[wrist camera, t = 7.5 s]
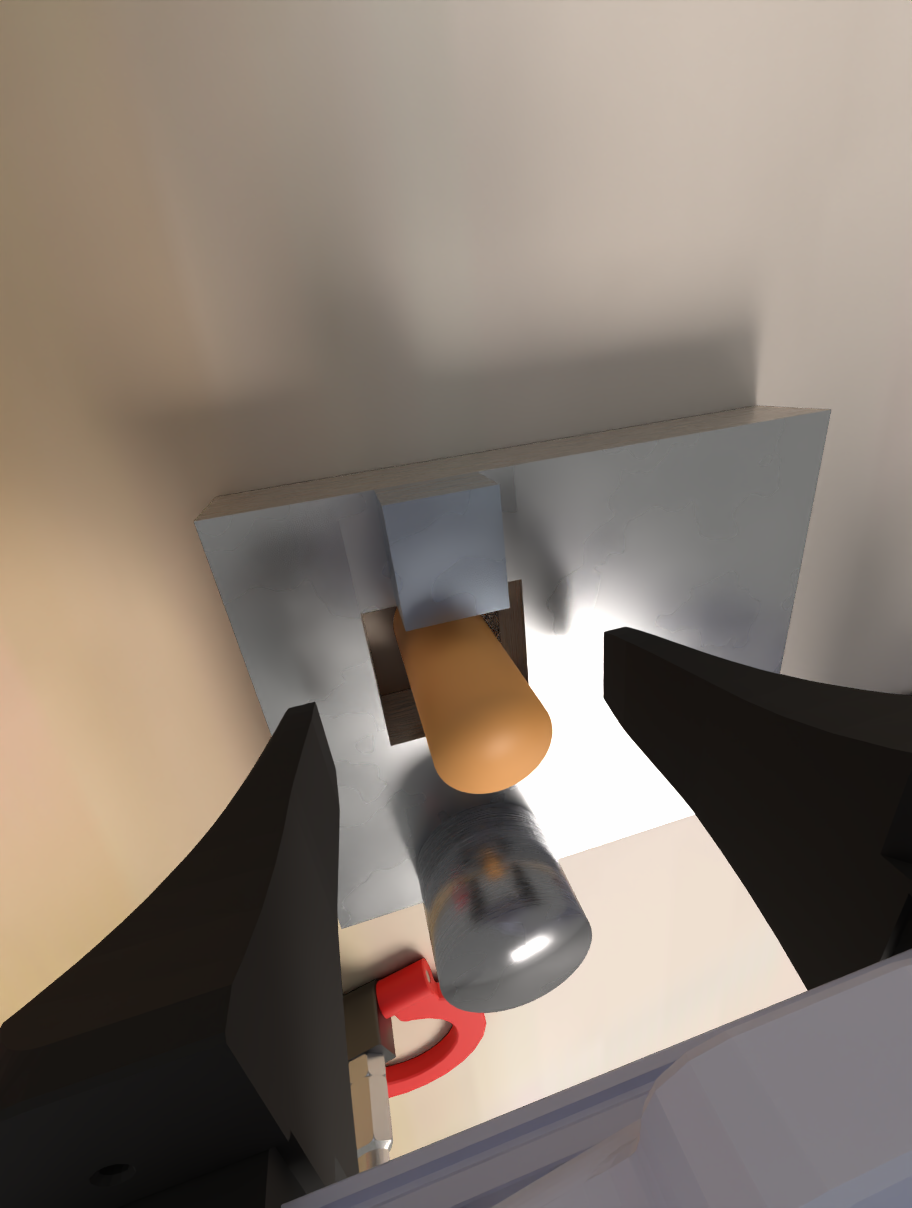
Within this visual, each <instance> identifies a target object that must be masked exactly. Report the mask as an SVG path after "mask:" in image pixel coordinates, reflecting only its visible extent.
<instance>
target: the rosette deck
mask: <svg viewBox="0 0 912 1208" xmlns="http://www.w3.org/2000/svg"><path fill="white" fill-rule="evenodd" d="M830 414H831V409H812V408H793V407H774V406H752V407H746V408H740V409H734V410H728V411H722V412H716V413H710V414H704V415H698V416H692V417H686V418H681V419H675V420H669V421H663V422H657V423H651V424H645V425H639V426H633V427H627V428H621V429H615V430H609V431H603V432H598V433H592V434H586V435H580V436H574V437H568V438H562V439H556V440H550V441H544V442H538V443H532V444H526V445H520V446H515V447H509V448H503V449H497V450H491V451H485V452H479V453H473V454H467V455H461V456H455V457H449V458H443V459H437V460H432V461H426V462H420V463H414V464H408V465H402V466H396V467H390V468H384V469H378V470H372V471H366V472H360V473H354V474H348V475H343V476H337V477H331V478H325V479H319V480H313V481H307V482H301V483H295V484H289V485H283V486H277V487H271V488H265V489H260V490H254V491H248V492H242V493H236V494H230V495H224V496H218V497H215V498H214V499H213V501H212V502H211V503H210V504H209V505H208V506H207V507H206V508H205V509H204V511H203V512H202V513H201V514H200V515H199V516H198V517H197V518H196V519H195V520H194V524H195V526H196V529H197V532H198V535H199V537H200V540H201V543H202V546H203V548H204V551H205V554H206V557H207V559H208V562H209V565H210V568H211V570H212V573H213V576H214V579H215V581H216V584H217V587H218V590H219V592H220V595H221V598H222V601H223V603H224V606H225V609H226V612H227V614H228V617H229V620H230V623H231V625H232V628H233V631H234V634H235V636H236V639H237V642H238V645H239V647H240V650H241V653H242V656H243V658H244V661H245V664H246V667H247V669H248V672H249V675H250V678H251V680H252V683H253V686H254V689H255V691H256V694H257V697H258V700H259V702H260V705H261V708H262V711H263V713H264V716H265V719H266V722H267V724H268V727H269V730H270V733H271V736H272V735H273V733H274V732H275V730H276V728H277V726H278V724H279V723H280V721H281V719H282V717H283V716H284V714H285V712H286V711H287V709H288V708H291V707H295V706H299V705H303V704H307V703H312V702H316V705H317V708H318V711H319V715H320V718H321V721H322V725H323V728H324V731H325V735H326V738H327V741H328V744H329V748H330V751H331V754H332V758H333V761H334V764H335V768H336V775H337V784H338V794H339V805H340V828H339V868H338V920H339V923H340V925H341V928H342V929H343V928H346V927H349V926H352V925H355V924H359V923H362V922H365V921H368V920H371V919H374V918H377V917H380V916H383V915H386V914H389V913H392V912H395V911H399V910H402V909H405V908H408V907H411V906H414V905H417V904H420V903H423V905H424V910H425V915H426V920H427V925H428V930H429V935H430V940H431V945H432V950H433V955H434V960H435V965H436V970H437V975H438V980H439V985H440V990H441V992H442V995H443V996H444V998H445V999H446V1001H448V1002H449V1003H450V1004H451V1005H453V1006H454V1007H456V1008H458V1009H461V1010H464V1011H468V1012H475V1013H490V1012H498V1011H504V1010H508V1009H512V1008H515V1007H518V1006H521V1005H524V1004H527V1003H529V1002H531V1001H534V1000H536V999H538V998H540V997H542V996H543V995H545V994H547V993H548V992H550V991H552V990H553V989H555V988H556V987H557V986H559V985H560V984H561V983H563V982H564V981H565V980H566V979H567V978H568V977H569V976H570V975H572V973H573V972H574V971H575V970H576V969H577V968H578V967H579V965H580V964H581V963H582V961H583V960H584V958H585V956H586V955H587V953H588V950H589V948H590V944H591V939H592V931H591V927H590V924H589V922H588V920H587V918H586V916H585V914H584V912H583V910H582V908H581V906H580V904H579V902H578V900H577V898H576V896H575V894H574V892H573V890H572V888H571V886H570V884H569V882H568V880H567V878H566V876H565V874H564V872H563V870H562V868H561V866H560V864H559V862H558V860H557V859H559V858H562V857H565V856H568V855H571V854H574V853H577V852H580V851H583V850H586V849H589V848H592V847H596V846H599V845H602V844H605V843H608V842H611V841H614V840H617V839H620V838H623V837H626V836H629V835H633V834H636V833H639V832H642V831H645V830H648V829H651V828H654V827H657V826H660V825H663V824H666V823H669V822H673V821H676V820H679V819H682V818H685V817H688V816H691V815H694V814H695V813H694V812H693V811H692V810H691V808H690V807H689V806H688V805H687V803H686V802H685V801H684V800H683V798H682V797H681V796H680V795H679V794H678V792H677V791H676V790H675V789H674V788H673V787H672V786H671V784H670V783H669V782H668V781H667V780H666V779H665V778H664V776H663V775H662V774H661V773H660V772H659V771H658V769H657V768H656V767H655V766H654V765H653V764H652V763H651V761H650V760H649V759H648V758H647V757H646V756H645V755H644V753H643V752H642V751H641V750H640V749H639V748H638V746H637V745H636V744H635V743H634V742H633V740H632V739H631V738H630V737H629V736H628V735H627V733H626V732H625V731H624V730H623V728H622V727H621V725H620V724H619V722H618V721H617V719H616V718H615V716H614V715H613V713H612V712H611V710H610V708H609V707H608V705H607V703H606V702H605V700H604V699H603V645H604V632H605V631H609V630H613V629H617V628H621V627H625V626H626V627H630V628H634V629H637V630H641V631H644V632H647V633H650V634H653V635H656V636H659V637H662V638H665V639H667V640H670V641H673V642H676V643H679V644H682V645H685V646H688V647H690V648H693V649H696V650H699V651H702V652H705V653H708V654H711V655H714V656H717V657H721V658H724V659H727V660H730V661H734V662H737V663H740V664H744V665H747V666H751V667H754V668H758V669H761V670H765V671H769V672H773V673H777V674H780V669H781V664H782V659H783V654H784V649H785V644H786V639H787V633H788V628H789V623H790V618H791V613H792V608H793V603H794V598H795V593H796V587H797V582H798V577H799V572H800V567H801V562H802V557H803V552H804V547H805V541H806V536H807V531H808V526H809V521H810V516H811V511H812V506H813V501H814V496H815V490H816V485H817V480H818V475H819V470H820V465H821V460H822V455H823V450H824V444H825V439H826V434H827V429H828V424H829V419H830ZM395 606H397V608H398V610H399V613H400V616H401V619H402V622H403V625H404V628H405V631H410V630H415V629H419V628H423V627H428V626H432V625H437V624H441V623H445V622H450V621H454V620H459V619H463V618H467V617H472V616H476V615H481V614H485V613H489V612H494V611H498V619H499V630H500V641H501V645H502V646H503V648H504V649H505V651H506V652H507V654H508V655H509V656H510V658H511V659H512V661H513V662H514V664H515V665H516V667H517V668H518V669H519V671H520V672H521V674H522V675H523V677H524V678H525V680H526V681H527V682H528V684H529V685H530V687H531V688H532V690H533V691H534V693H535V694H536V695H537V697H538V698H539V700H540V701H541V703H542V704H543V706H544V707H545V708H546V710H547V711H548V713H549V715H550V717H551V721H552V726H553V736H552V741H551V745H550V748H549V750H548V752H547V754H546V756H545V758H544V759H543V761H542V762H541V763H540V765H539V766H538V767H537V768H536V769H535V770H534V771H533V772H532V773H531V774H530V775H529V776H527V777H526V778H525V779H523V780H522V781H520V782H519V783H517V784H515V785H513V786H511V787H509V788H506V789H504V790H501V791H497V792H493V793H486V794H472V793H466V792H462V791H459V790H456V789H454V788H452V787H451V786H449V785H448V784H446V783H445V782H444V781H443V780H442V779H441V778H440V776H439V775H438V773H437V771H436V769H435V766H434V763H433V760H432V756H431V753H430V750H429V746H428V743H427V740H426V736H425V733H424V730H423V726H422V723H421V720H420V716H419V713H418V710H417V706H416V703H415V700H414V696H413V693H412V690H411V689H408V690H404V691H400V692H396V693H392V694H388V695H384V696H381V694H380V690H379V685H378V681H377V677H376V672H375V668H374V664H373V659H372V655H371V650H370V646H369V642H368V637H367V633H366V629H365V624H364V620H363V616H362V614H363V613H367V612H372V611H377V610H381V609H386V608H390V607H395Z"/></svg>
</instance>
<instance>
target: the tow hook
mask: <svg viewBox="0 0 912 1208" xmlns="http://www.w3.org/2000/svg"><path fill="white" fill-rule="evenodd" d="M343 1005H344V1018H345V1030H346V1042H347V1053H348V1064H349V1075H350V1085H351V1096H352V1107H353V1116H354V1126H355V1136H356V1146H357V1156H358V1165H359V1173H361V1172H363V1171H366V1170H368V1169H371V1168H373V1167H375V1166H378V1165H380V1164H383V1163H385V1162H388V1161H390V1157H389V1152H390V1150H391V1148H392V1143H393V1135H392V1125H391V1116H390V1106H389V1098H390V1097H393V1096H397V1095H400V1094H404V1093H407V1092H409V1091H412V1090H414V1089H417V1088H419V1087H421V1086H424V1085H426V1084H428V1083H430V1082H432V1081H434V1080H436V1079H437V1078H439V1077H441V1076H443V1075H445V1074H446V1073H448V1072H449V1071H450V1070H452V1069H453V1068H455V1067H456V1066H457V1065H459V1064H460V1063H461V1062H463V1061H464V1060H465V1059H466V1058H467V1057H468V1056H469V1055H470V1054H471V1053H472V1052H473V1051H474V1050H475V1048H476V1046H477V1045H478V1043H479V1042H480V1040H481V1039H482V1037H483V1035H484V1031H485V1027H486V1020H485V1016H484V1013H475V1012H468V1011H464V1010H461V1009H458V1008H456V1007H454V1006H453V1005H451V1004H450V1003H449V1002H448V1001H446V999H445V998H444V996H443V995H442V992H441V990H440V985H439V982H435V981H434V979H433V975H432V972H431V969H430V967H429V965H428V963H427V961H426V960H425V959H424V958H422V959H420V960H418V961H416V962H415V963H413V964H411V965H409V966H407V967H405V968H403V969H401V970H399V971H397V972H395V973H393V974H391V975H389V976H387V977H385V978H383V979H381V980H373V981H371V982H369V983H367V984H365V985H364V986H362V987H360V988H358V989H356V990H354V991H352V992H350V993H348V994H346V995H344V996H343ZM394 1015H395V1016H396V1017H397V1018H398V1019H399V1020H401V1021H410V1020H416V1019H425V1018H434V1019H443V1020H446V1021H449V1022H450V1023H451V1024H452V1025H453V1026H452V1028H451V1030H450V1031H449V1033H448V1034H447V1035H446V1036H445V1037H444V1038H443V1039H442V1040H441V1041H440V1042H439V1043H438V1044H436V1045H435V1046H434V1047H432V1048H431V1049H430V1050H428V1051H426V1052H425V1053H423V1054H421V1055H419V1056H417V1057H415V1058H413V1059H410V1060H408V1061H405V1062H403V1063H399V1064H395V1065H391V1066H387V1067H385V1063H386V1062H388V1061H390V1060H392V1059H394V1058H395V1057H396V1055H395V1047H394V1039H393V1030H392V1022H391V1017H392V1016H394Z"/></svg>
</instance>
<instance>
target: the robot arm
mask: <svg viewBox="0 0 912 1208" xmlns="http://www.w3.org/2000/svg"><path fill="white" fill-rule="evenodd" d="M603 699H604V700H605V702H606V703H607V705H608V707H609V708H610V710H611V712H612V713H613V715H614V716H615V718H616V719H617V721H618V722H619V724H620V725H621V727H622V728H623V730H624V731H625V732H626V733H627V735H628V736H629V737H630V738H631V739H632V740H633V742H634V743H635V744H636V745H637V746H638V748H639V749H640V750H641V751H642V752H643V753H644V755H645V756H646V757H647V758H648V759H649V760H650V761H651V763H652V764H653V765H654V766H655V767H656V768H657V769H658V771H659V772H660V773H661V774H662V775H663V776H664V778H665V779H666V780H667V781H668V782H669V783H670V784H671V786H672V787H673V788H674V789H675V790H676V791H677V792H678V794H679V795H680V796H681V797H682V798H683V800H684V801H685V802H686V803H687V805H688V806H689V807H690V808H691V810H692V811H693V812H694V813H695V815H696V816H697V817H698V819H699V820H700V822H701V823H702V825H703V826H704V827H705V829H706V830H707V832H708V833H709V834H710V836H711V837H712V839H713V840H714V842H715V843H716V844H717V846H718V847H719V849H720V850H721V852H722V853H723V855H724V856H725V858H726V859H727V861H728V862H729V864H730V865H731V867H732V868H733V870H734V871H735V873H736V874H737V876H738V877H739V879H740V880H741V882H742V883H743V885H744V886H745V888H746V889H747V891H748V892H749V894H750V895H751V897H752V899H753V900H754V902H755V903H756V905H757V907H758V908H759V910H760V911H761V913H762V915H763V916H764V918H765V919H766V921H767V923H768V924H769V926H770V927H771V929H772V931H773V932H774V934H775V935H776V937H777V939H778V940H779V942H780V944H781V946H782V947H783V949H784V951H785V952H786V954H787V956H788V958H789V959H790V961H791V963H792V964H793V966H794V968H795V970H796V971H797V973H798V975H799V976H800V978H801V980H802V982H803V983H804V985H805V987H806V988H807V990H808V991H806V992H804V993H801V994H799V995H796V996H794V997H791V998H789V999H786V1000H784V1001H781V1002H779V1003H777V1004H774V1005H772V1006H769V1007H767V1008H764V1009H762V1010H759V1011H757V1012H754V1013H752V1014H750V1015H747V1016H745V1017H742V1018H740V1019H737V1020H735V1021H732V1022H730V1023H727V1024H725V1025H722V1026H720V1027H718V1028H715V1029H713V1030H710V1031H708V1032H705V1033H703V1034H700V1035H698V1036H695V1037H693V1038H690V1039H688V1040H686V1041H683V1042H681V1043H678V1044H676V1045H673V1046H671V1047H668V1048H666V1049H663V1050H661V1051H658V1052H656V1053H654V1054H651V1055H649V1056H646V1057H644V1058H641V1059H639V1060H636V1061H634V1062H631V1063H629V1064H626V1065H624V1066H622V1067H619V1068H617V1069H614V1070H612V1071H609V1072H607V1073H604V1074H602V1075H599V1076H597V1077H594V1078H592V1079H590V1080H587V1081H585V1082H582V1083H580V1084H577V1085H575V1086H572V1087H570V1088H567V1089H565V1090H562V1091H560V1092H558V1093H555V1094H553V1095H550V1096H548V1097H545V1098H543V1099H540V1100H538V1101H535V1102H533V1103H530V1104H528V1105H526V1106H523V1107H521V1108H518V1109H516V1110H513V1111H511V1112H508V1113H506V1114H503V1115H501V1116H498V1117H496V1118H494V1119H491V1120H489V1121H486V1122H484V1123H481V1124H479V1125H476V1126H474V1127H471V1128H469V1129H467V1130H464V1131H462V1132H459V1133H457V1134H454V1135H452V1136H449V1137H447V1138H444V1139H442V1140H439V1141H437V1142H435V1143H432V1144H430V1145H427V1146H425V1147H422V1148H420V1149H417V1150H415V1151H412V1152H410V1153H407V1154H405V1155H403V1156H400V1157H398V1158H395V1159H393V1160H390V1161H388V1162H385V1163H383V1164H380V1165H378V1166H375V1167H373V1168H371V1169H368V1170H366V1171H363V1172H361V1173H359V1165H358V1156H357V1146H356V1136H355V1126H354V1116H353V1107H352V1096H351V1085H350V1075H349V1064H348V1053H347V1042H346V1030H345V1018H344V1005H343V993H342V980H341V966H340V952H339V938H338V868H339V828H340V805H339V794H338V784H337V775H336V768H335V764H334V761H333V758H332V754H331V751H330V748H329V744H328V741H327V738H326V735H325V731H324V728H323V725H322V721H321V718H320V715H319V711H318V708H317V705H316V702H312V703H307V704H303V705H299V706H295V707H291V708H288V709H287V711H286V712H285V714H284V716H283V717H282V719H281V721H280V723H279V724H278V726H277V728H276V730H275V732H274V733H273V735H272V737H271V739H270V740H269V742H268V744H267V746H266V747H265V749H264V751H263V752H262V754H261V756H260V757H259V759H258V761H257V762H256V764H255V765H254V767H253V769H252V770H251V772H250V773H249V775H248V777H247V778H246V780H245V781H244V783H243V784H242V786H241V787H240V788H239V790H238V791H237V793H236V794H235V796H234V797H233V798H232V800H231V801H230V803H229V804H228V806H227V807H226V809H225V810H224V811H223V813H222V814H221V815H220V817H219V818H218V819H217V821H216V822H215V823H214V824H213V826H212V827H211V828H210V829H209V831H208V832H207V833H206V834H205V835H204V837H203V838H202V839H201V840H200V841H199V843H198V844H197V845H196V846H195V847H194V849H193V850H192V851H191V852H190V853H189V854H188V855H187V857H186V858H185V859H184V860H183V861H182V862H181V863H180V864H179V865H178V866H177V867H176V868H175V869H174V870H173V871H172V872H171V873H170V875H169V876H168V877H167V878H166V879H165V880H164V881H163V882H162V883H161V884H160V885H159V886H158V887H157V888H156V889H155V890H154V891H153V892H152V894H151V895H150V896H149V897H148V898H147V899H146V900H145V901H144V902H143V903H142V904H141V905H139V906H138V907H137V908H136V909H135V910H134V911H133V912H132V913H131V914H130V915H129V916H128V917H127V918H126V919H125V920H124V921H123V922H122V923H121V924H120V925H118V926H117V927H116V928H115V929H114V930H113V931H112V932H111V933H110V934H109V935H107V936H106V937H105V938H104V939H103V940H102V941H101V942H100V943H99V944H98V945H96V946H95V947H94V948H93V949H92V950H91V951H90V952H89V953H87V954H86V955H85V956H84V957H83V958H82V959H81V960H79V961H78V962H77V963H76V964H75V965H73V966H72V967H71V968H70V969H69V970H67V971H66V972H65V973H64V974H63V975H61V976H60V977H59V978H58V979H57V980H55V981H54V982H53V983H52V984H50V985H49V986H48V987H47V988H46V989H44V990H43V991H42V992H41V993H40V994H38V995H37V996H36V997H35V998H33V999H32V1000H31V1001H30V1002H29V1003H27V1004H26V1005H25V1006H24V1007H23V1008H21V1009H20V1010H19V1011H18V1012H16V1013H15V1014H14V1015H13V1016H11V1017H10V1018H9V1019H7V1020H6V1021H5V1022H4V1023H3V1024H2V1026H1V1028H0V1208H912V696H909V695H899V694H890V693H882V692H874V691H867V690H860V689H854V688H848V687H842V686H836V685H830V684H824V683H819V682H814V681H808V680H804V679H799V678H795V677H791V676H786V675H782V674H777V673H773V672H769V671H765V670H761V669H758V668H754V667H751V666H747V665H744V664H740V663H737V662H734V661H730V660H727V659H724V658H721V657H717V656H714V655H711V654H708V653H705V652H702V651H699V650H696V649H693V648H690V647H688V646H685V645H682V644H679V643H676V642H673V641H670V640H667V639H665V638H662V637H659V636H656V635H653V634H650V633H647V632H644V631H641V630H637V629H634V628H630V627H626V626H625V627H621V628H617V629H613V630H609V631H605V632H604V645H603Z"/></svg>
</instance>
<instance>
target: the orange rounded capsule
mask: <svg viewBox="0 0 912 1208" xmlns="http://www.w3.org/2000/svg"><path fill="white" fill-rule="evenodd" d="M393 628H394V633H395V636H396V639H397V643H398V646H399V650H400V653H401V656H402V660H403V663H404V666H405V670H406V673H407V676H408V680H409V683H410V686H411V690H412V693H413V696H414V700H415V703H416V706H417V710H418V713H419V716H420V720H421V723H422V726H423V730H424V733H425V736H426V740H427V743H428V746H429V750H430V753H431V756H432V760H433V763H434V766H435V769H436V771H437V773H438V775H439V776H440V778H441V779H442V780H443V781H444V782H445V783H446V784H448V785H449V786H451V787H452V788H454V789H456V790H459V791H462V792H466V793H472V794H486V793H493V792H497V791H501V790H504V789H506V788H509V787H511V786H513V785H515V784H517V783H519V782H520V781H522V780H523V779H525V778H526V777H527V776H529V775H530V774H531V773H532V772H533V771H534V770H535V769H536V768H537V767H538V766H539V765H540V763H541V762H542V761H543V759H544V758H545V756H546V754H547V752H548V750H549V748H550V745H551V741H552V736H553V726H552V721H551V717H550V715H549V713H548V711H547V710H546V708H545V707H544V706H543V704H542V703H541V701H540V700H539V698H538V697H537V695H536V694H535V693H534V691H533V690H532V688H531V687H530V685H529V684H528V682H527V681H526V680H525V678H524V677H523V675H522V674H521V672H520V671H519V669H518V668H517V667H516V665H515V664H514V662H513V661H512V659H511V658H510V656H509V655H508V654H507V652H506V651H505V649H504V648H503V646H502V645H501V643H500V642H499V641H498V639H497V638H496V636H495V635H494V633H493V632H492V630H491V629H490V628H489V626H488V625H487V623H486V622H485V620H484V619H483V617H482V616H481V615H476V616H472V617H467V618H463V619H459V620H454V621H450V622H445V623H441V624H437V625H432V626H428V627H423V628H419V629H415V630H410V631H405V628H404V625H403V622H402V619H401V616H400V613H399V610H398V608H396V611H395V614H394V619H393Z"/></svg>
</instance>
